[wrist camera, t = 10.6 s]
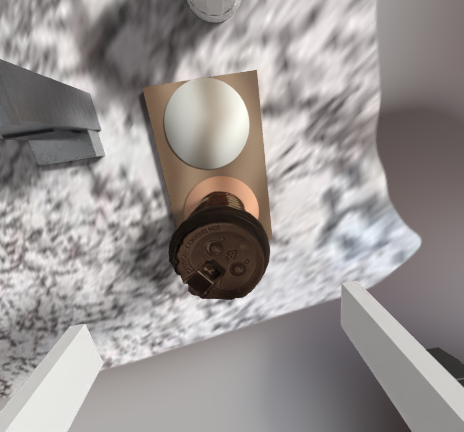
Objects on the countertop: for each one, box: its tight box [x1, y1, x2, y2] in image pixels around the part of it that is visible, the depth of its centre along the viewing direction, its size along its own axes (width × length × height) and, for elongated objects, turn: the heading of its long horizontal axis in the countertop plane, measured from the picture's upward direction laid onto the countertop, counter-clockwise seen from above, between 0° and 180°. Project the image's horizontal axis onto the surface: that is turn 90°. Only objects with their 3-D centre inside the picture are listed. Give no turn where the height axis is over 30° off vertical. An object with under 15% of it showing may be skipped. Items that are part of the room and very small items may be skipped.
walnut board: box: [142, 70, 272, 240], centre depth 28 cm, size 13×21×2 cm, turn 8°
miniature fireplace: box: [0, 59, 105, 165], centre depth 20 cm, size 9×8×13 cm
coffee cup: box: [169, 191, 270, 300], centre depth 23 cm, size 9×8×13 cm
